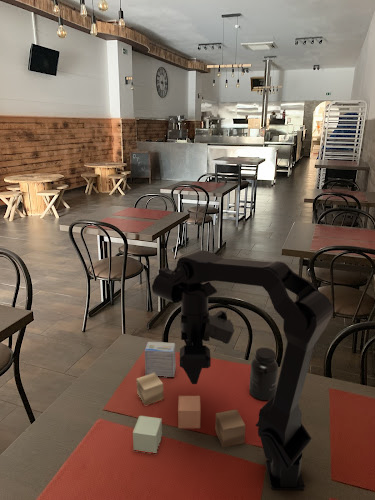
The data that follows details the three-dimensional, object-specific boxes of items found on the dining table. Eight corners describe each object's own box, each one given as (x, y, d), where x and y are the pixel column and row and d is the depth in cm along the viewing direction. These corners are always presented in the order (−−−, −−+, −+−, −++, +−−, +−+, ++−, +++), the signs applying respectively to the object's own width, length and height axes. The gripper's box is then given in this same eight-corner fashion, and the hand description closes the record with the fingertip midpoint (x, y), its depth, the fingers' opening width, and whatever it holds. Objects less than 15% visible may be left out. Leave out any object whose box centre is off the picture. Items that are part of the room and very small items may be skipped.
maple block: (163, 399, 99) (162, 383, 98) (145, 406, 97) (144, 389, 95) (154, 388, 103) (154, 372, 102) (137, 394, 101) (136, 378, 99)
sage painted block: (156, 454, 83) (155, 435, 81) (133, 451, 84) (132, 432, 82) (162, 436, 88) (161, 418, 86) (140, 433, 89) (139, 415, 87)
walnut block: (244, 443, 86) (245, 425, 84) (222, 448, 85) (223, 429, 83) (235, 426, 90) (236, 409, 89) (215, 431, 89) (215, 413, 88)
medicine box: (175, 369, 111) (175, 342, 108) (173, 378, 107) (173, 351, 104) (148, 367, 112) (147, 340, 109) (145, 377, 108) (144, 349, 105)
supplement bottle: (278, 401, 98) (282, 360, 95) (251, 401, 99) (253, 360, 95) (273, 384, 105) (276, 345, 101) (247, 383, 105) (249, 344, 101)
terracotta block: (200, 428, 90) (200, 410, 88) (178, 428, 90) (178, 410, 88) (199, 413, 95) (199, 395, 93) (179, 412, 95) (178, 395, 93)
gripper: (237, 331, 75) (234, 398, 80) (227, 290, 93) (225, 347, 98) (179, 331, 75) (179, 398, 80) (180, 290, 93) (181, 347, 98)
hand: (194, 370), depth 89 cm, fingers open, 9 cm apart
